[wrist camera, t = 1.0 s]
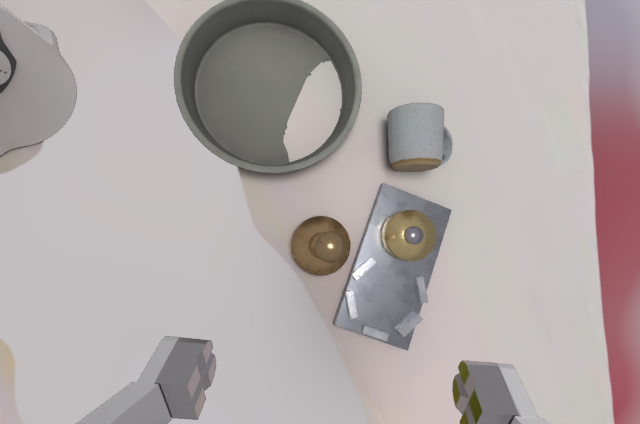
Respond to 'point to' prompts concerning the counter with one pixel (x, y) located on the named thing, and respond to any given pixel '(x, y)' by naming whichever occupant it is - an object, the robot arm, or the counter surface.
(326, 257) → the brass joystick knob
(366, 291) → the carrier plate
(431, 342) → the counter surface
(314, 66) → the cake pan
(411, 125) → the ceramic mug
